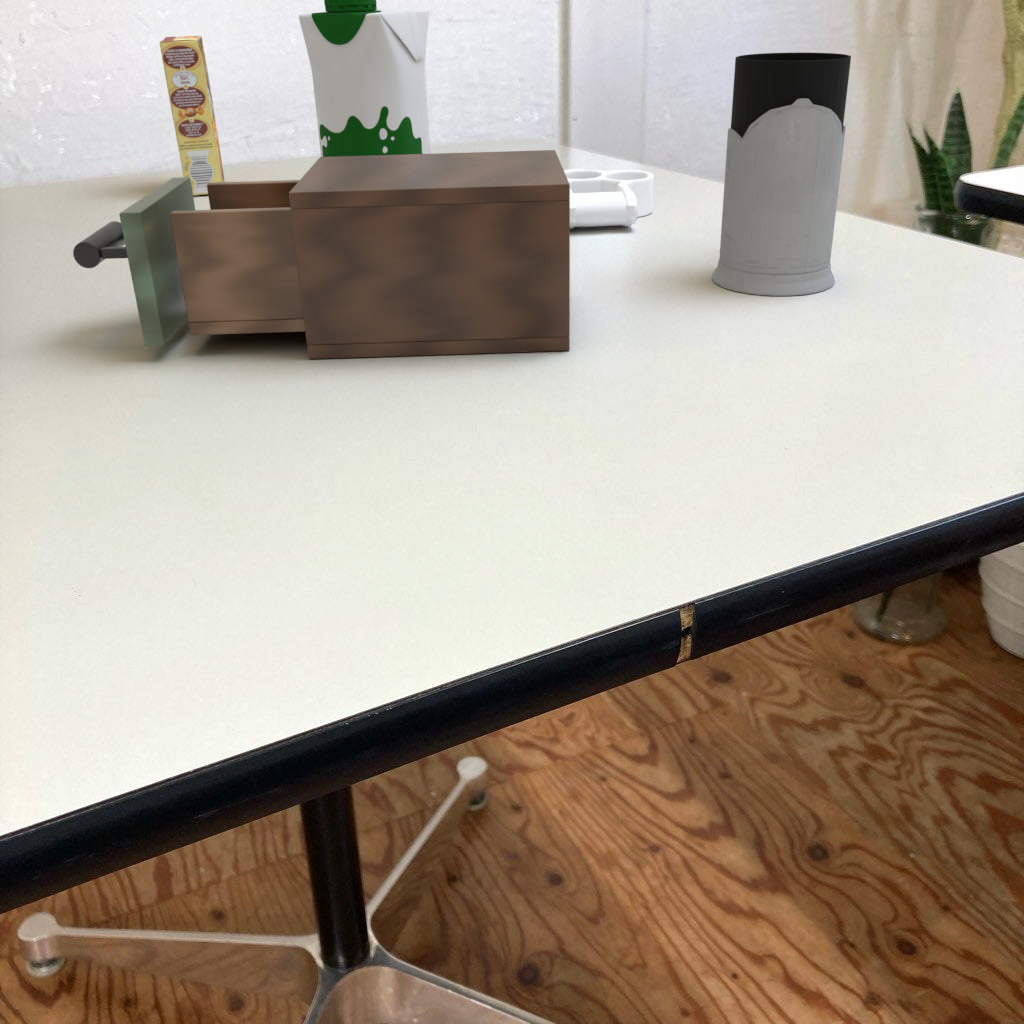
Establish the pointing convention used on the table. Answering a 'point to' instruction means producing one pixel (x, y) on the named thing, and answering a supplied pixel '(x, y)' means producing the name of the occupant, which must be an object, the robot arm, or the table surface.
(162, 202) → the drawer
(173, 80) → the candy box
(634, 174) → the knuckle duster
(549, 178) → the cabinet
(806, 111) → the glass holder
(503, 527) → the table surface
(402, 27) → the milk carton
